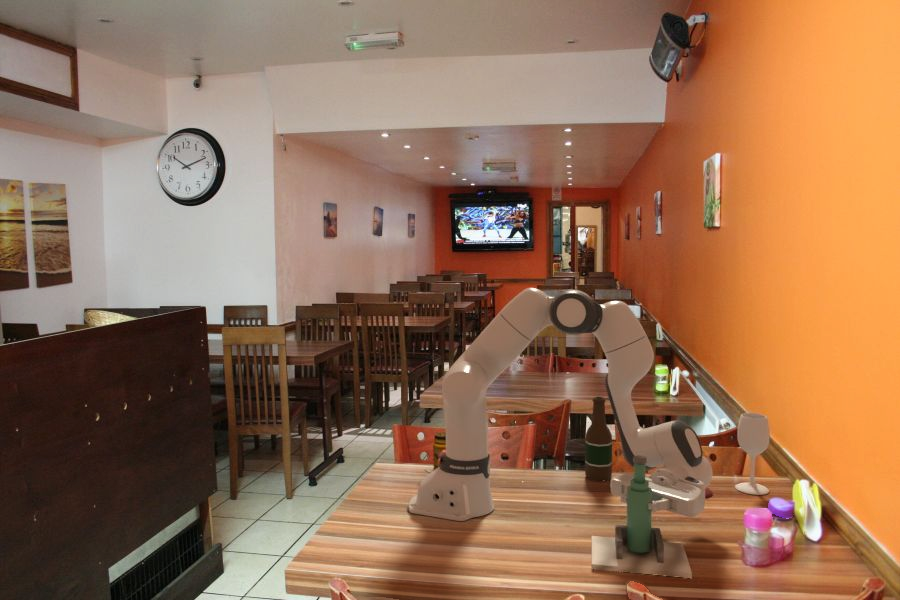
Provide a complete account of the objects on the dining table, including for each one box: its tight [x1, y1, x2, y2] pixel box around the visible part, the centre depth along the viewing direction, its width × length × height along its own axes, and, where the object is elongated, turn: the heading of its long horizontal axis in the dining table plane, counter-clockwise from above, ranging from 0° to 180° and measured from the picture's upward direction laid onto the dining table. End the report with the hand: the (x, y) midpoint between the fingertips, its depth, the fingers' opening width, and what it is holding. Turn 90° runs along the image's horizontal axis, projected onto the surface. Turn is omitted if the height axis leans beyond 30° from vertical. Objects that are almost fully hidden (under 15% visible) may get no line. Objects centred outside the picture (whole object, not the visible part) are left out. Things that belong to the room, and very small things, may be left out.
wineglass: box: [734, 412, 771, 496], centre depth 182 cm, size 9×9×21 cm
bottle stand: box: [591, 524, 693, 580], centre depth 142 cm, size 20×14×5 cm
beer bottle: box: [584, 396, 613, 482], centre depth 192 cm, size 8×8×24 cm
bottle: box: [625, 455, 653, 553], centre depth 141 cm, size 5×5×20 cm
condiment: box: [424, 432, 446, 474], centre depth 199 cm, size 7×8×12 cm
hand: (637, 503), depth 140 cm, fingers closed on bottle, 5 cm apart
